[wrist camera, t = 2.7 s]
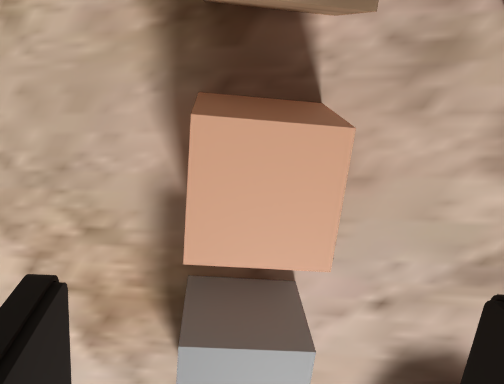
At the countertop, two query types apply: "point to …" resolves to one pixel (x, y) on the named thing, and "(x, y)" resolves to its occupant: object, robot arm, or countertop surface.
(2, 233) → the countertop surface
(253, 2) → the walnut block
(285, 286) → the slate grey block
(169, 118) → the countertop surface
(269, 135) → the terracotta block
